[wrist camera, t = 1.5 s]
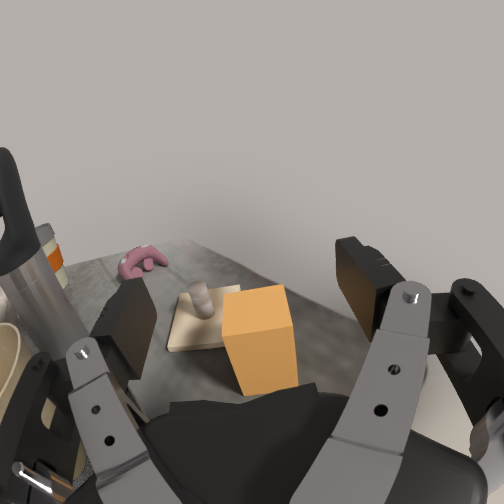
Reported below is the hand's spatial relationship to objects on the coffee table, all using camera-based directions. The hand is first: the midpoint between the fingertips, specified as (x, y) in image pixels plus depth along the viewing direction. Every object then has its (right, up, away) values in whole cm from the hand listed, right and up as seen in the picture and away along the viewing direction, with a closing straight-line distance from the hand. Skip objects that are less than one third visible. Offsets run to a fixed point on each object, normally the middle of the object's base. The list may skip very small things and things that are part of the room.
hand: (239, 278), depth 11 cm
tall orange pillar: (+2, -13, +19) cm, 23 cm away
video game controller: (-21, -4, +44) cm, 49 cm away
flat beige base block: (-6, -9, +29) cm, 31 cm away
